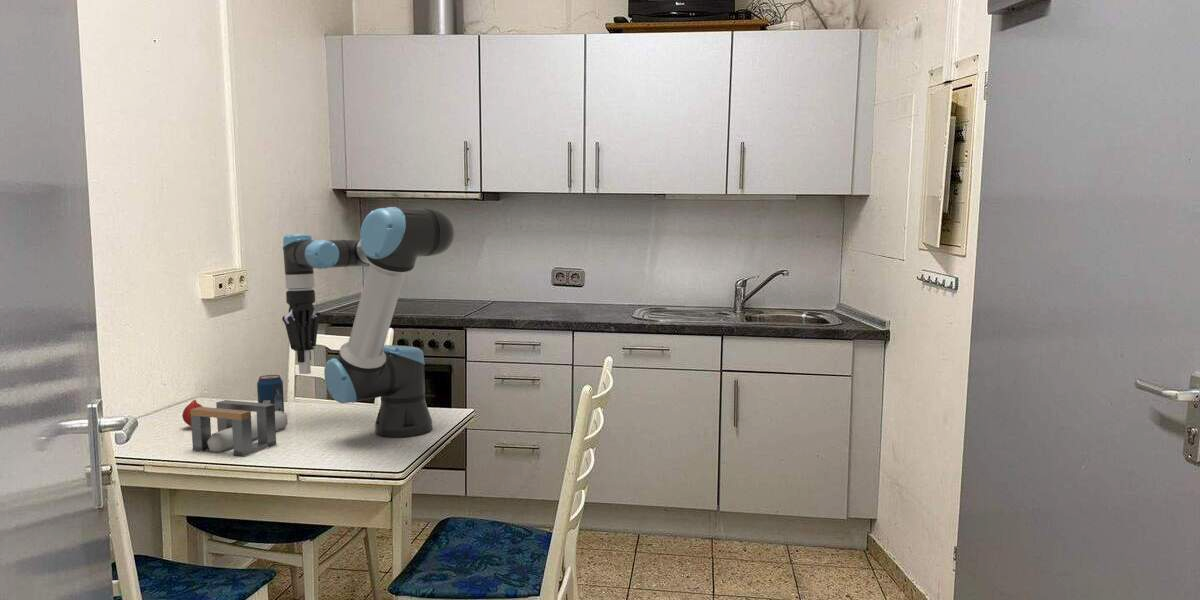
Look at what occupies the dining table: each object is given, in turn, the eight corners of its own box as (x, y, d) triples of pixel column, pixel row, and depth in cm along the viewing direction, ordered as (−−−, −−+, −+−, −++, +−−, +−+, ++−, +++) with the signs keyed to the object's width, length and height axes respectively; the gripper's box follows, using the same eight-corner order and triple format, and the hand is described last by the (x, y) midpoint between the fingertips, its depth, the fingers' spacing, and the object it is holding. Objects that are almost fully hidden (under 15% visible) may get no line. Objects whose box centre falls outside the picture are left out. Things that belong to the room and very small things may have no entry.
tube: (222, 439, 193) (290, 414, 217) (205, 431, 194) (274, 407, 218) (217, 459, 194) (285, 432, 218) (200, 450, 196) (270, 425, 219)
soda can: (263, 414, 235) (261, 374, 234) (287, 413, 235) (285, 374, 234) (254, 420, 228) (252, 379, 227) (279, 419, 228) (277, 378, 227)
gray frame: (276, 444, 202) (274, 404, 201) (243, 456, 191) (241, 414, 190) (227, 439, 207) (225, 399, 206) (192, 450, 197) (190, 409, 196)
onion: (180, 431, 216) (178, 402, 215) (187, 426, 222) (185, 397, 221) (203, 430, 217) (201, 401, 216) (209, 424, 223) (207, 396, 222)
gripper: (305, 288, 227) (310, 369, 229) (272, 291, 215) (277, 377, 217) (326, 287, 225) (331, 370, 227) (294, 291, 213) (299, 377, 214)
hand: (305, 373), depth 222 cm, fingers closed
